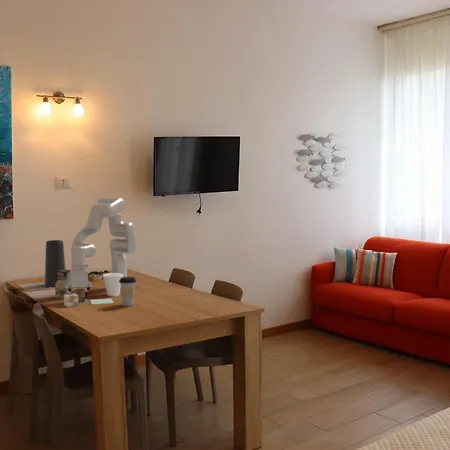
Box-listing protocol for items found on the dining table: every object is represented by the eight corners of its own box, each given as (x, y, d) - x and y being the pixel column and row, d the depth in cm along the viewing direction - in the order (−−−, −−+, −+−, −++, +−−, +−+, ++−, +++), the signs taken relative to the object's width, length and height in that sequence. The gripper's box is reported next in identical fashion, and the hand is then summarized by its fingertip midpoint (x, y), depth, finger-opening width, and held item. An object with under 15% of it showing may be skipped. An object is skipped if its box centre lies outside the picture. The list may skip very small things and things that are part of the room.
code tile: (87, 299, 349) (87, 298, 349) (88, 302, 340) (88, 302, 340) (69, 300, 346) (69, 300, 346) (70, 304, 337) (70, 303, 337)
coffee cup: (122, 307, 329) (122, 280, 327) (117, 304, 337) (116, 277, 336) (139, 305, 333) (138, 278, 332) (133, 302, 341) (133, 276, 340)
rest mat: (111, 299, 349) (111, 298, 349) (114, 303, 337) (114, 302, 337) (89, 300, 345) (89, 299, 345) (92, 305, 334) (92, 304, 334)
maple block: (74, 304, 337) (74, 293, 337) (78, 306, 332) (78, 295, 332) (63, 305, 334) (63, 294, 333) (67, 307, 329) (67, 296, 328)
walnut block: (84, 298, 347) (83, 288, 347) (85, 301, 341) (84, 290, 341) (73, 299, 345) (73, 289, 345) (74, 301, 340) (74, 291, 339)
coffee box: (54, 297, 353) (54, 270, 352) (62, 295, 359) (61, 269, 357) (67, 299, 349) (66, 271, 348) (74, 297, 355) (73, 270, 354)
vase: (71, 284, 393) (70, 240, 390) (54, 288, 382) (53, 242, 379) (56, 282, 400) (55, 239, 398) (40, 286, 389) (38, 241, 386)
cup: (99, 296, 358) (98, 275, 357) (111, 292, 369) (110, 272, 368) (115, 297, 353) (115, 276, 352) (127, 294, 364) (127, 273, 363)
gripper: (93, 265, 348) (94, 296, 350) (62, 267, 342) (63, 298, 344) (94, 267, 341) (95, 299, 342) (63, 269, 335) (64, 301, 337)
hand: (79, 298), depth 343 cm, fingers closed on walnut block, 6 cm apart
